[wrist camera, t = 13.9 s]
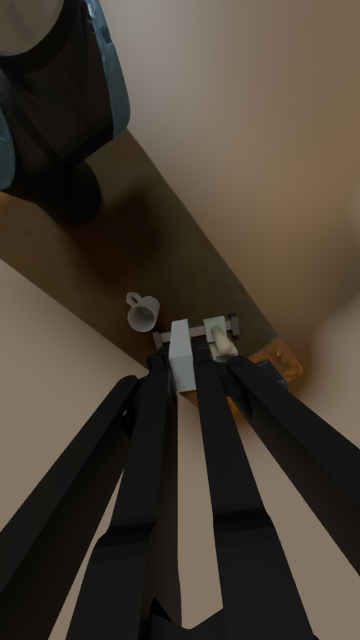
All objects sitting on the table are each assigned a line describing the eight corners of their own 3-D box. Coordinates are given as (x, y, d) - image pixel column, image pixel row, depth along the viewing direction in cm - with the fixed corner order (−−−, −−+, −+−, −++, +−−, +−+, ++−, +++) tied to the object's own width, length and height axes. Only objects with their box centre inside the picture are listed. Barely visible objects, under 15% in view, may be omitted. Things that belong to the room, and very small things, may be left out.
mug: (165, 308, 52) (161, 321, 40) (148, 320, 53) (140, 336, 42) (143, 281, 49) (133, 288, 38) (126, 295, 50) (111, 305, 39)
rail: (153, 328, 54) (152, 332, 51) (234, 312, 52) (238, 316, 49) (158, 344, 56) (157, 349, 53) (236, 329, 54) (239, 334, 51)
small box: (249, 364, 59) (264, 385, 49) (267, 358, 58) (286, 378, 48) (258, 386, 62) (273, 410, 52) (275, 380, 61) (293, 403, 52)
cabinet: (208, 341, 56) (214, 359, 46) (229, 338, 55) (240, 355, 45) (211, 360, 58) (218, 380, 48) (231, 356, 58) (242, 376, 48)
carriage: (202, 317, 52) (211, 338, 39) (221, 313, 52) (236, 333, 38) (205, 337, 55) (215, 363, 41) (224, 333, 54) (239, 358, 41)
